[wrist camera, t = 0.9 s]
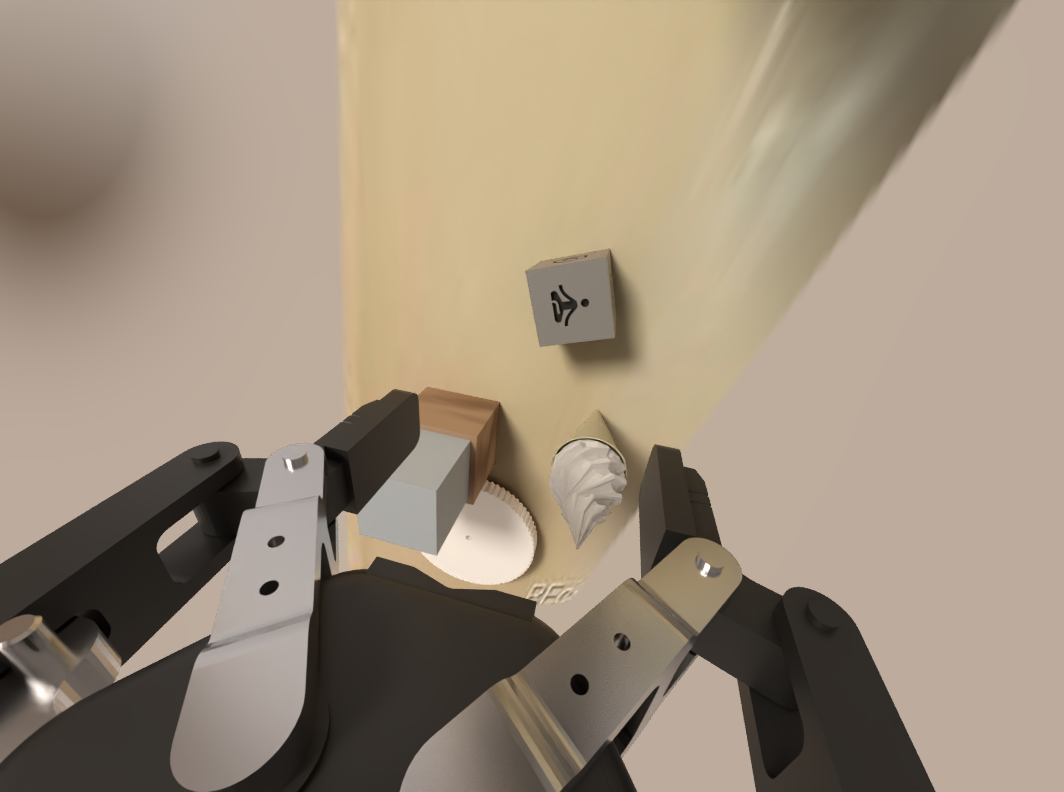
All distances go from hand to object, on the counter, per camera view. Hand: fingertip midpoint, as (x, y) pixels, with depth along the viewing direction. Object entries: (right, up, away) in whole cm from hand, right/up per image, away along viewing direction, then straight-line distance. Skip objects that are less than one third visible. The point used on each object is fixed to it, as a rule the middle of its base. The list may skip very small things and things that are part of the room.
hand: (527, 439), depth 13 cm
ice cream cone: (+6, 0, +20) cm, 21 cm away
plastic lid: (-6, -12, +29) cm, 32 cm away
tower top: (-8, -4, +18) cm, 20 cm away
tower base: (-7, -1, +24) cm, 25 cm away
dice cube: (+4, +9, +16) cm, 19 cm away
